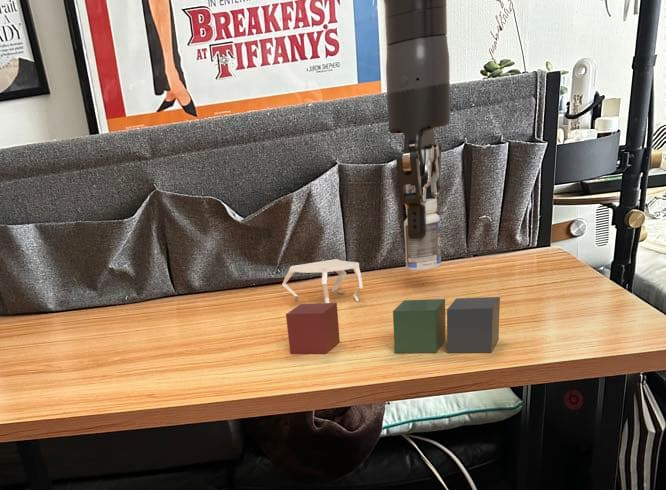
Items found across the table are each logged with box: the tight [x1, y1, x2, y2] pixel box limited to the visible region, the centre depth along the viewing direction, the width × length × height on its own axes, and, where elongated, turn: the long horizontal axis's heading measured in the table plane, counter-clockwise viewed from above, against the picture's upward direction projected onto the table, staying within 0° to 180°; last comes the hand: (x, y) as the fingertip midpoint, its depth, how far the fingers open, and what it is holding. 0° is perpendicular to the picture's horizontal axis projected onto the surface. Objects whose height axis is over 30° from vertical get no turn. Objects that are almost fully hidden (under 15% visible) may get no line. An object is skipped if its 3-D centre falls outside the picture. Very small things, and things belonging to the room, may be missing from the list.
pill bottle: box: [403, 199, 442, 272], centre depth 96 cm, size 5×5×8 cm
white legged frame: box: [281, 258, 364, 303], centre depth 101 cm, size 12×8×5 cm
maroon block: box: [285, 302, 341, 355], centre depth 81 cm, size 4×4×4 cm
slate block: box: [446, 296, 501, 354], centre depth 73 cm, size 4×4×4 cm
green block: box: [392, 298, 446, 354], centre depth 76 cm, size 4×4×4 cm
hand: (422, 233), depth 96 cm, fingers closed on pill bottle, 4 cm apart
